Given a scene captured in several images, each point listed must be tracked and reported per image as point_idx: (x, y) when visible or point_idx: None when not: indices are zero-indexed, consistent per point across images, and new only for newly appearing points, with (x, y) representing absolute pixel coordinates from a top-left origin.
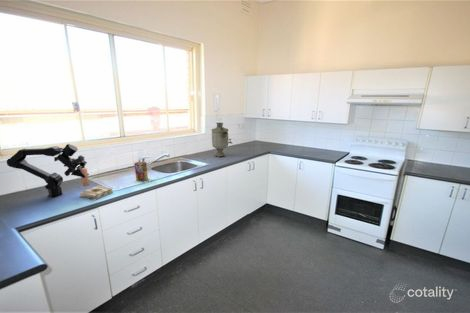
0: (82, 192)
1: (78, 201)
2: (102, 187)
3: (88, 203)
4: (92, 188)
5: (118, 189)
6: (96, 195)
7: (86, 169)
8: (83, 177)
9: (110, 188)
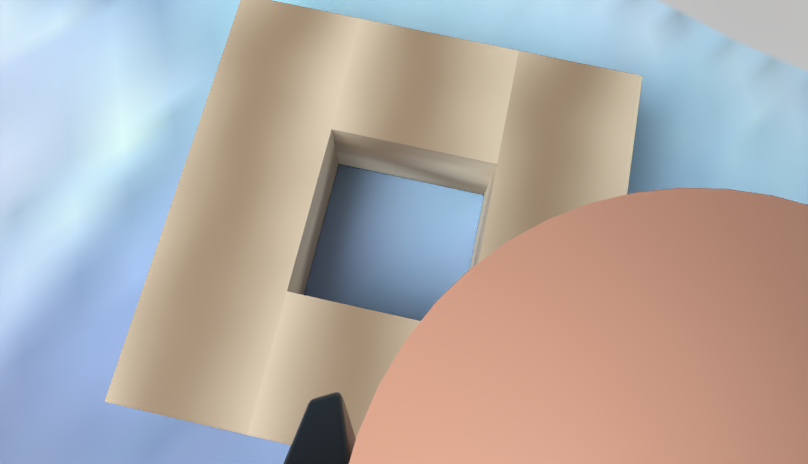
0: None
1: None
2: (223, 212)
3: (761, 116)
4: (318, 393)
5: (117, 29)
6: (596, 75)
7: (600, 221)
8: None
9: (252, 23)
